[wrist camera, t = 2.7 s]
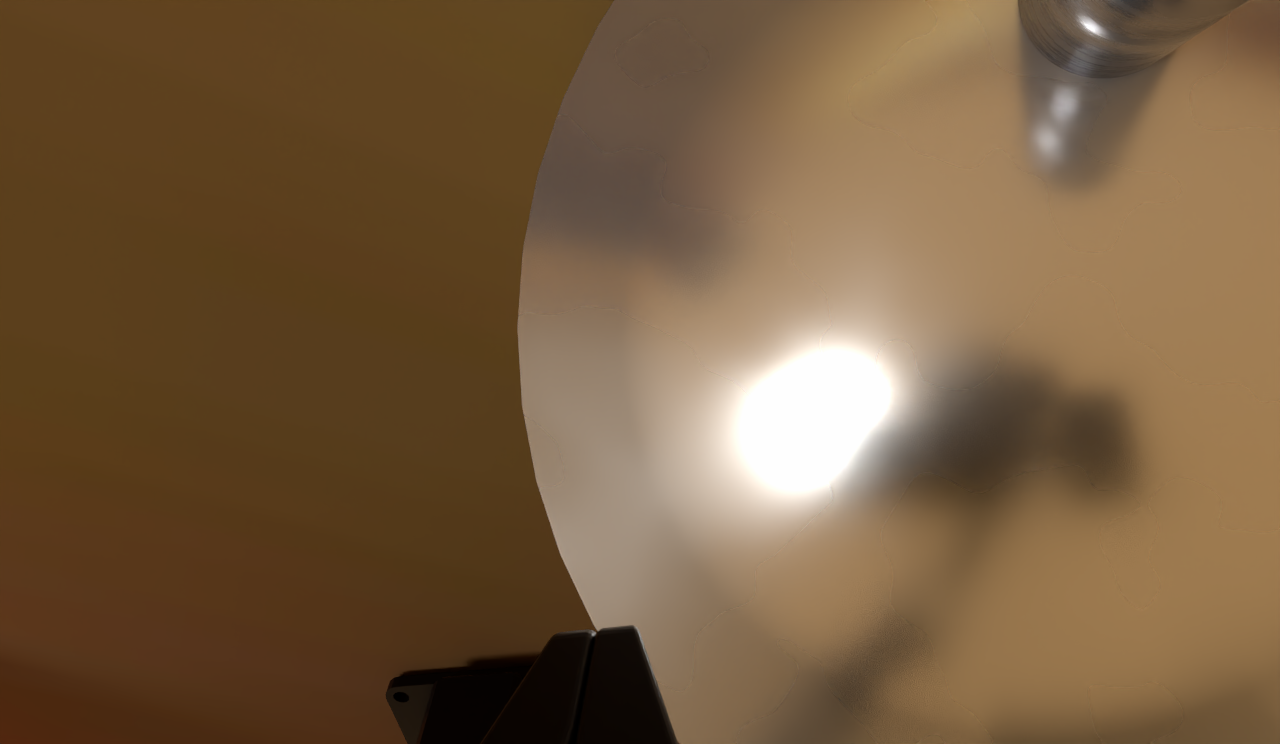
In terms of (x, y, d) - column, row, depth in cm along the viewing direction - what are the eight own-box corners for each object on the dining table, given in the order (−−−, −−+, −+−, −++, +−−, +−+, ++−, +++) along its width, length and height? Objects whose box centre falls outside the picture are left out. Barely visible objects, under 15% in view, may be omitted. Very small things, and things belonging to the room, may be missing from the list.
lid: (1858, 1147, 11) (2271, 1449, 8) (634, 1159, 13) (600, 1409, 10) (1720, -389, 11) (2107, -677, 8) (472, -148, 12) (384, -300, 9)
